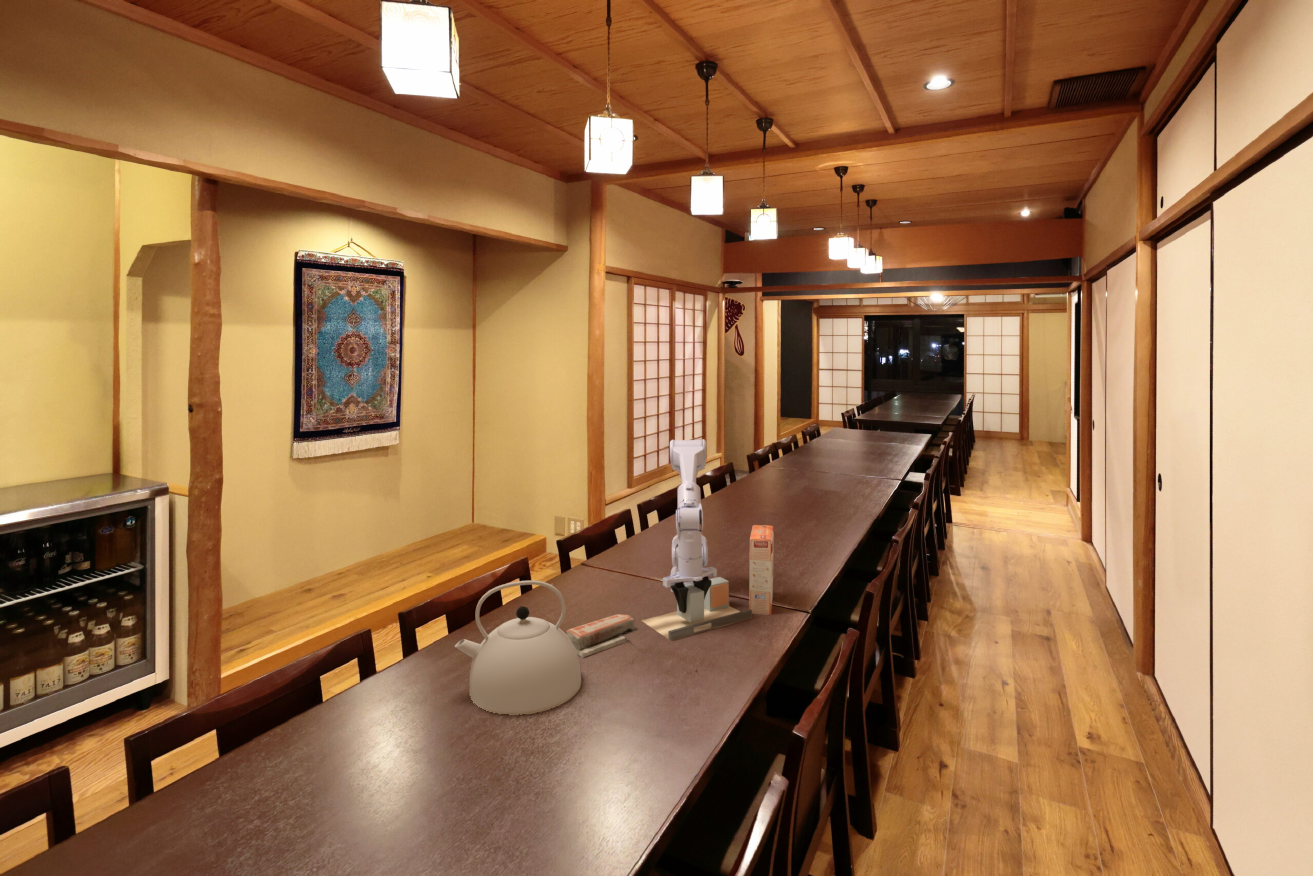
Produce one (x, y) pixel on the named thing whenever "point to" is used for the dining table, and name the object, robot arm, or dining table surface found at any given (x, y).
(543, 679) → the kettle
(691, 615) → the turn carton
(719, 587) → the faced carton
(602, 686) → the dining table surface
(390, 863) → the dining table surface
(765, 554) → the cracker box
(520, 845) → the dining table surface
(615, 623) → the packaged product
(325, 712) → the dining table surface
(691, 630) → the shelf board
